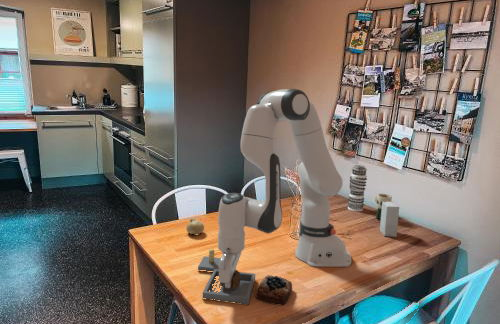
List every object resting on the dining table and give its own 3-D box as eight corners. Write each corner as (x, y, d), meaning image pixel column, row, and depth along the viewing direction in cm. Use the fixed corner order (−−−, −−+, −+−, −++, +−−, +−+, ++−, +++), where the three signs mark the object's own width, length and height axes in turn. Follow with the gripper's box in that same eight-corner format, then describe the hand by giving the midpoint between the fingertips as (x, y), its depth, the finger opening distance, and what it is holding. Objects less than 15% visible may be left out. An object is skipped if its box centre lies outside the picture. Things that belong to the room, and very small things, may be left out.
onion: (202, 229, 170) (202, 215, 169) (205, 236, 163) (205, 221, 161) (185, 231, 168) (185, 216, 166) (187, 238, 160) (187, 223, 159)
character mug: (369, 216, 194) (371, 193, 191) (377, 214, 197) (380, 191, 195) (385, 223, 185) (388, 199, 182) (394, 221, 188) (398, 197, 186)
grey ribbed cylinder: (366, 208, 206) (371, 166, 200) (358, 212, 199) (363, 168, 194) (351, 204, 212) (356, 163, 206) (344, 208, 205) (348, 165, 200)
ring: (241, 279, 124) (241, 270, 124) (237, 289, 118) (238, 280, 117) (223, 277, 125) (223, 268, 125) (218, 287, 119) (218, 278, 118)
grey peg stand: (224, 263, 139) (224, 246, 138) (219, 273, 132) (219, 256, 130) (204, 260, 141) (204, 244, 139) (198, 271, 133) (198, 254, 131)
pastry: (252, 301, 117) (253, 284, 115) (263, 282, 128) (264, 267, 126) (286, 308, 113) (287, 292, 112) (293, 288, 124) (295, 273, 123)
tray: (255, 280, 128) (255, 273, 128) (248, 305, 114) (248, 298, 113) (214, 275, 131) (214, 269, 130) (202, 299, 116) (202, 292, 115)
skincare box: (396, 237, 169) (400, 207, 165) (383, 236, 169) (387, 206, 166) (391, 230, 177) (394, 201, 174) (378, 229, 177) (382, 200, 174)
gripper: (234, 258, 108) (233, 299, 111) (245, 231, 128) (244, 266, 131) (214, 256, 109) (213, 297, 112) (228, 229, 129) (227, 264, 132)
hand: (230, 280), depth 122 cm, fingers closed on ring, 6 cm apart
